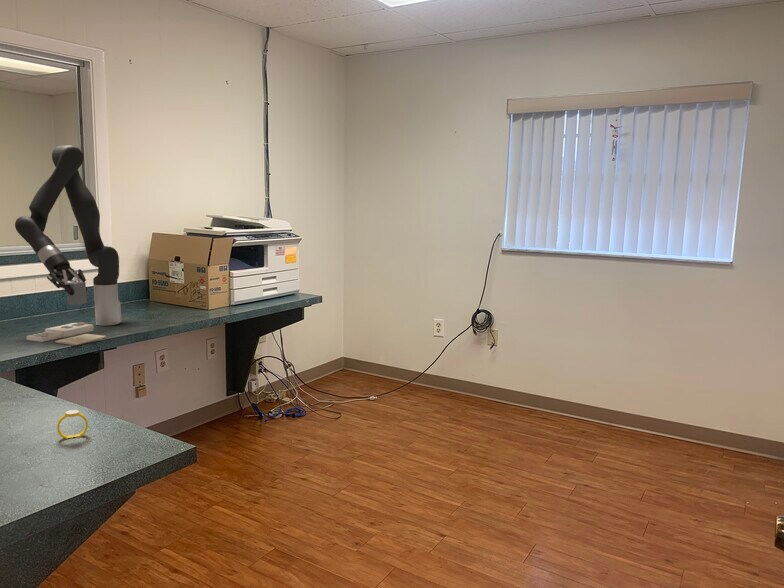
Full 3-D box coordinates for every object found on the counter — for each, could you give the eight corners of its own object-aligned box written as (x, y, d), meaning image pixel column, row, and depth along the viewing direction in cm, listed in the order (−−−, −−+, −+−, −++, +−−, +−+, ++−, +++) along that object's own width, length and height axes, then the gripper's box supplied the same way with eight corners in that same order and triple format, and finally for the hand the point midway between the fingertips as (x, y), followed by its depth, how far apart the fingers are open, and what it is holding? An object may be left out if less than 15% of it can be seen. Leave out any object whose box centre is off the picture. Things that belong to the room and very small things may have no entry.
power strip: (75, 328, 246) (74, 321, 245) (93, 330, 242) (93, 323, 242) (25, 339, 225) (24, 331, 225) (44, 342, 222) (43, 334, 221)
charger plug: (79, 302, 227) (77, 281, 226) (86, 303, 226) (85, 282, 224) (67, 304, 222) (66, 283, 221) (75, 305, 221) (74, 283, 220)
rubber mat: (86, 335, 234) (86, 333, 234) (106, 337, 231) (106, 335, 231) (55, 342, 221) (55, 340, 221) (75, 345, 218) (75, 343, 218)
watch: (87, 434, 136) (87, 408, 135) (87, 438, 133) (88, 412, 133) (57, 436, 133) (57, 410, 132) (57, 441, 131) (57, 414, 130)
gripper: (40, 254, 218) (67, 289, 215) (74, 251, 231) (100, 284, 228) (31, 268, 220) (57, 302, 218) (65, 264, 233) (90, 297, 231)
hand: (79, 293), depth 223 cm, fingers closed on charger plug, 5 cm apart
